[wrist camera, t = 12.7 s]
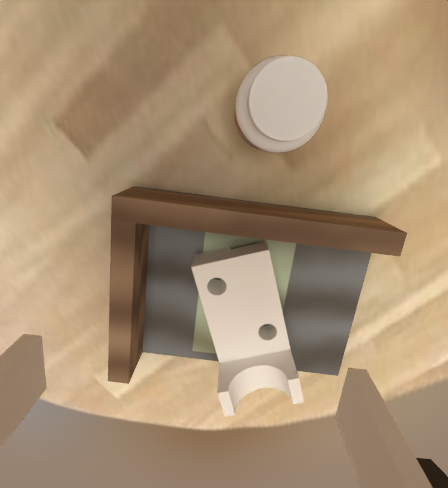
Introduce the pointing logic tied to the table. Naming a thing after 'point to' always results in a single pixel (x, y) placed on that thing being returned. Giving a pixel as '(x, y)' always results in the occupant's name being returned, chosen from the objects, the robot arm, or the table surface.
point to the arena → (185, 289)
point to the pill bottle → (281, 103)
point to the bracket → (245, 323)
